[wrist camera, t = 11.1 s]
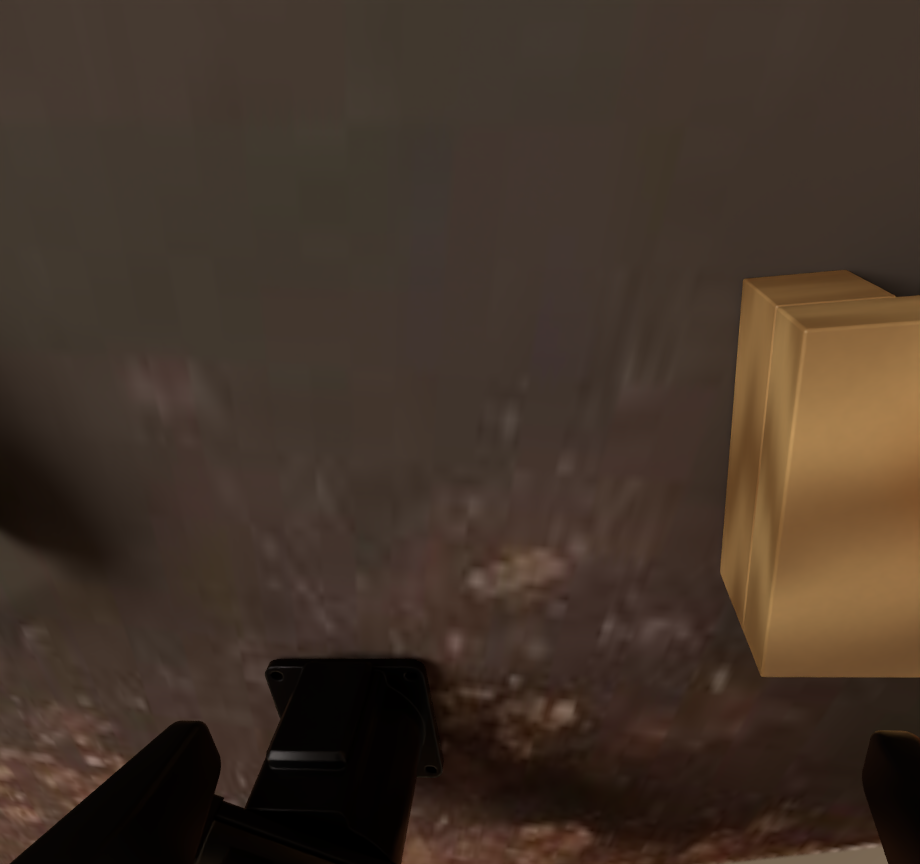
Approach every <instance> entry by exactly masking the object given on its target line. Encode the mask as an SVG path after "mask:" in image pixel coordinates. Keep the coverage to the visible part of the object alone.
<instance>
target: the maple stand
mask: <svg viewBox="0 0 920 864" xmlns="http://www.w3.org/2000/svg"><path fill="white" fill-rule="evenodd" d="M720 573H721V576H722V578H723V581H724V584H725V586H726V589H727V591H728V594H729V596H730V599H731V601H732V604H733V607H734V609H735V612H736V614H737V617H738V619H739V622H740V624H741V627H742V629H743V632H744V634H745V637H746V639H747V642H748V644H749V647H750V649H751V652H752V654H753V657H754V660H755V662H756V665H757V667H758V670H759V672H760V675H761V676H762V677H892V678H920V295H917V296H905V297H896V296H895V295H893V294H891V293H889V292H887V291H885V290H883V289H881V288H880V287H878V286H876V285H874V284H872V283H870V282H868V281H866V280H864V279H862V278H860V277H859V276H857V275H855V274H853V273H851V272H849V271H847V270H838V271H826V272H815V273H803V274H792V275H781V276H769V277H758V278H747V279H744V280H743V289H742V302H741V314H740V327H739V340H738V352H737V365H736V378H735V390H734V403H733V416H732V429H731V441H730V454H729V467H728V479H727V492H726V505H725V517H724V530H723V543H722V555H721V568H720Z"/></svg>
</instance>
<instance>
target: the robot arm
mask: <svg viewBox="0 0 920 864" xmlns="http://www.w3.org/2000/svg"><path fill="white" fill-rule="evenodd" d="M411 672H414V673H411ZM265 677H266V680H267V683H268V685H269V688H270V691H271V694H272V697H273V700H274V703H275V705H276V708H277V711H278V714H279V717H280V722H279V724H278V727H277V729H276V731H275V734H274V736H273V738H272V741H271V743H270V745H269V748H268V750H267V753H266V758H265V761H264V763H263V765H262V768H261V770H260V772H259V775H258V777H257V780H256V782H255V784H254V787H253V789H252V791H251V794H250V796H249V799H248V801H247V803H246V806H245V808H242V807H239V806H236V805H233V804H231V803H228V802H225V801H223V799H224V797H221V796H218V795H215V794H214V793H215V789H216V786H217V782H218V779H219V775H220V770H221V760H220V755H219V753H218V750H217V748H216V746H215V743H214V741H213V739H212V736H211V734H210V732H209V729H208V727H207V726H206V724H205V723H203V722H202V721H177V722H175V723H173V724H172V725H170V726H169V727H168V728H166V729H165V730H164V731H163V732H162V733H161V734H160V735H158V736H157V737H156V738H155V739H154V740H153V741H151V742H150V743H149V744H148V745H147V746H146V747H144V748H143V749H142V750H141V751H140V752H139V753H138V754H136V755H135V756H134V757H133V758H132V759H131V760H129V761H128V762H127V763H126V764H125V765H124V766H122V767H121V768H120V769H119V770H118V771H117V772H115V773H114V774H113V775H112V776H111V777H110V778H109V779H107V780H106V781H105V782H104V783H103V784H102V785H100V786H99V787H98V788H97V789H96V790H95V791H93V792H92V793H91V794H90V795H89V796H88V797H87V798H85V799H84V800H83V801H82V802H81V803H80V804H78V805H77V806H76V807H75V808H74V809H73V810H71V811H70V812H69V813H68V814H67V815H66V816H64V817H63V818H62V819H61V820H60V821H59V822H58V823H56V824H55V825H54V826H53V827H52V828H51V829H49V830H48V831H47V832H46V833H45V834H44V835H42V836H41V837H40V838H39V839H38V840H37V841H36V842H34V843H33V844H32V845H31V846H30V847H29V848H27V849H26V850H25V851H24V852H23V853H22V854H20V855H19V856H18V857H17V858H16V859H15V860H14V861H12V862H11V863H10V864H401V861H402V855H403V850H404V844H405V839H406V833H407V828H408V822H409V817H410V811H411V806H412V800H413V795H414V790H415V784H416V779H417V777H428V778H434V777H438V776H440V775H441V774H442V771H443V764H444V760H443V755H442V750H441V745H440V740H439V735H438V730H437V724H436V719H435V714H434V709H433V704H432V699H431V694H430V689H429V684H428V678H427V673H426V668H425V666H424V665H423V664H422V663H421V662H420V661H418V660H414V659H277V660H273V661H271V662H270V663H269V665H268V667H267V670H266V672H265ZM862 782H863V788H864V792H865V795H866V798H867V801H868V804H869V807H870V810H871V813H872V816H873V819H874V822H875V825H876V828H877V831H878V834H879V837H880V840H881V843H882V846H883V849H884V852H885V855H886V858H887V861H888V864H920V738H919V737H917V736H916V735H914V734H912V733H910V732H907V731H876V732H874V733H873V734H872V736H871V738H870V742H869V746H868V750H867V754H866V758H865V763H864V767H863V771H862Z"/></svg>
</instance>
